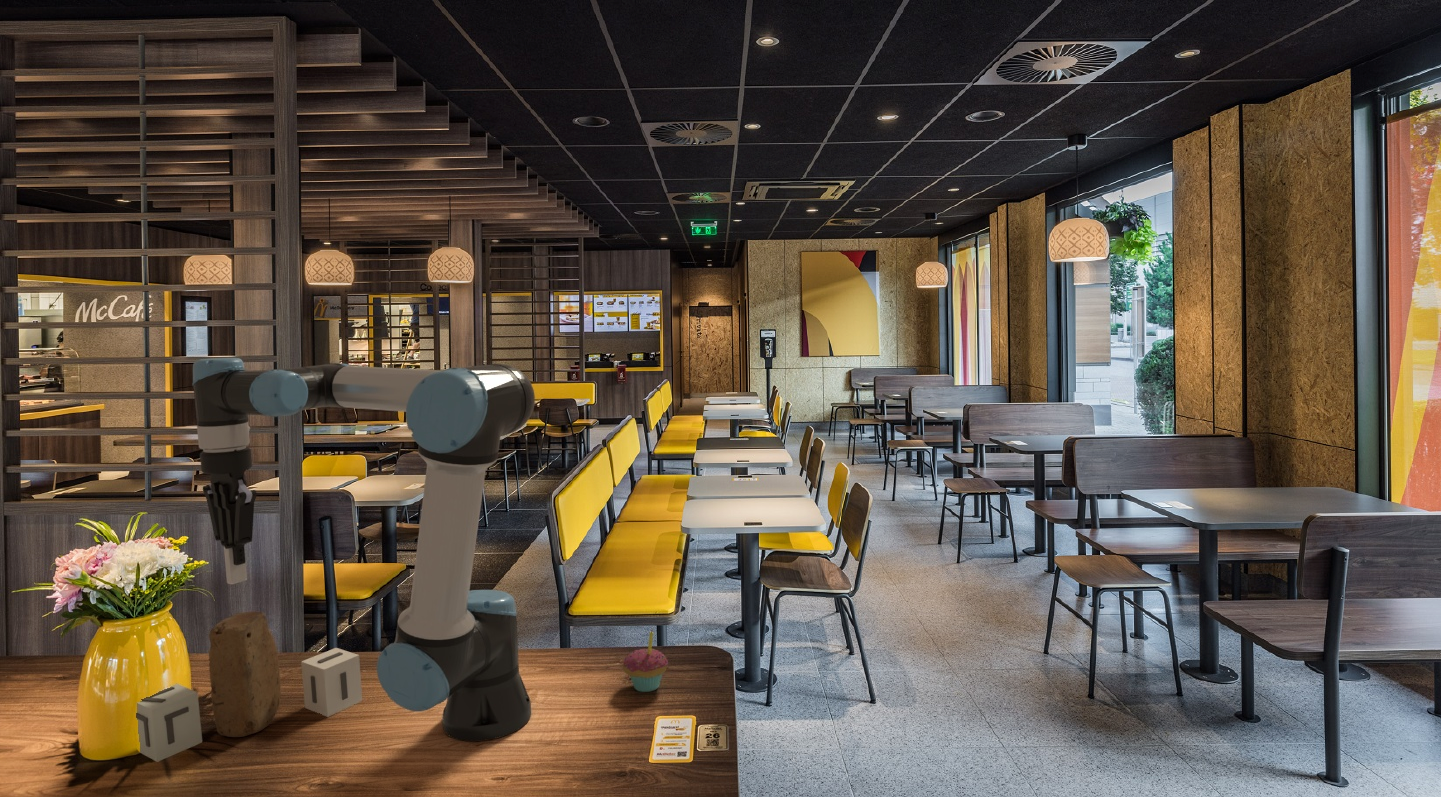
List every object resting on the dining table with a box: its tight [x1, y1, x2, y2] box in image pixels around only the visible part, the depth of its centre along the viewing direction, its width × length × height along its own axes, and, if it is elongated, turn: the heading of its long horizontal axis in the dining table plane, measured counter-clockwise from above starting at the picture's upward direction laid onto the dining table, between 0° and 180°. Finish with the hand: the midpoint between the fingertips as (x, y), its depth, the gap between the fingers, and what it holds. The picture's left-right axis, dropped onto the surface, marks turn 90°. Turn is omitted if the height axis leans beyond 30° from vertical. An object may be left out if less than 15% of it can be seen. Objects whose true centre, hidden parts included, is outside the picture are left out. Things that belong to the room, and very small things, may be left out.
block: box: [208, 610, 282, 738], centre depth 145 cm, size 11×8×20 cm
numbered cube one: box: [300, 647, 363, 718], centre depth 152 cm, size 7×7×9 cm
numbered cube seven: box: [136, 683, 203, 763], centre depth 138 cm, size 7×7×9 cm
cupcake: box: [622, 628, 669, 693], centre depth 156 cm, size 9×8×12 cm
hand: (237, 581), depth 143 cm, fingers closed
